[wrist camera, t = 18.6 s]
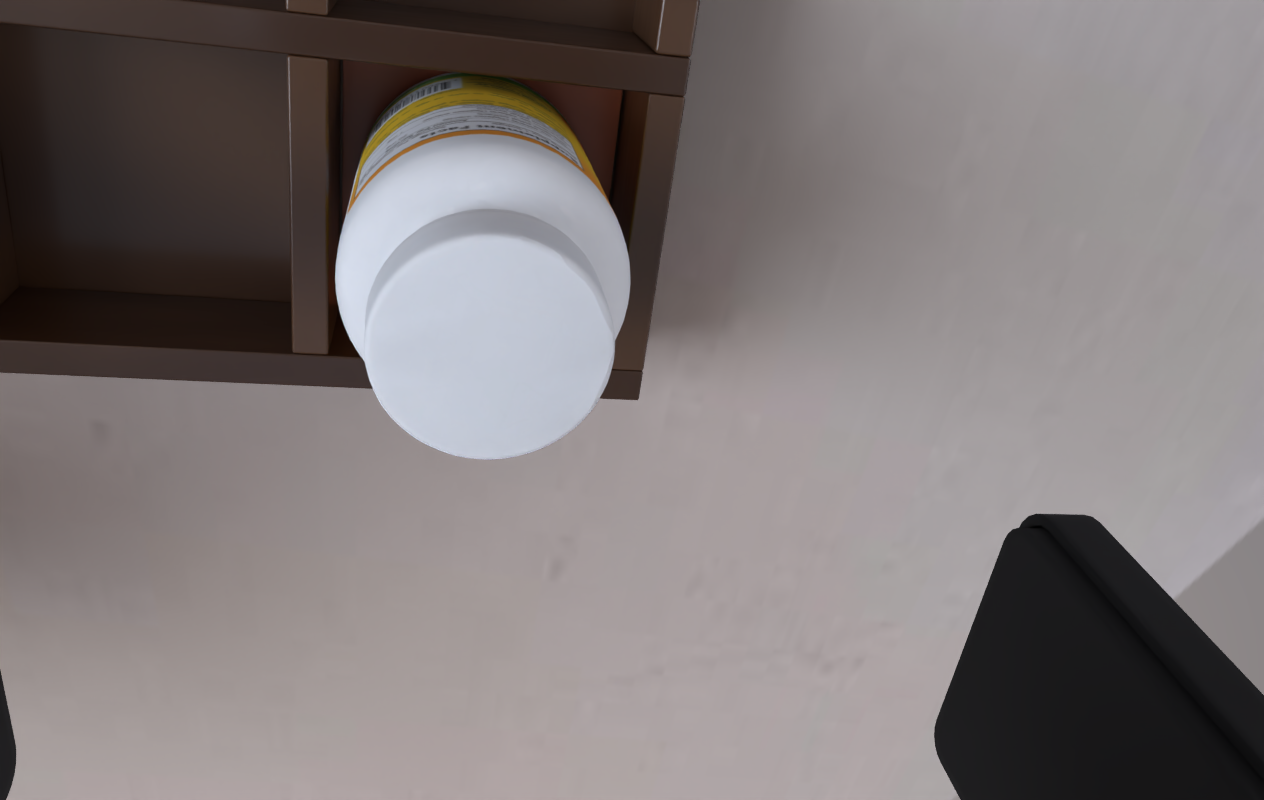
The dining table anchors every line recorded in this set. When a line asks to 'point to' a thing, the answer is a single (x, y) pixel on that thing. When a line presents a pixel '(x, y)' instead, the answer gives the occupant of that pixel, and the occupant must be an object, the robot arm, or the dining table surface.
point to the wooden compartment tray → (278, 166)
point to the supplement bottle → (481, 268)
